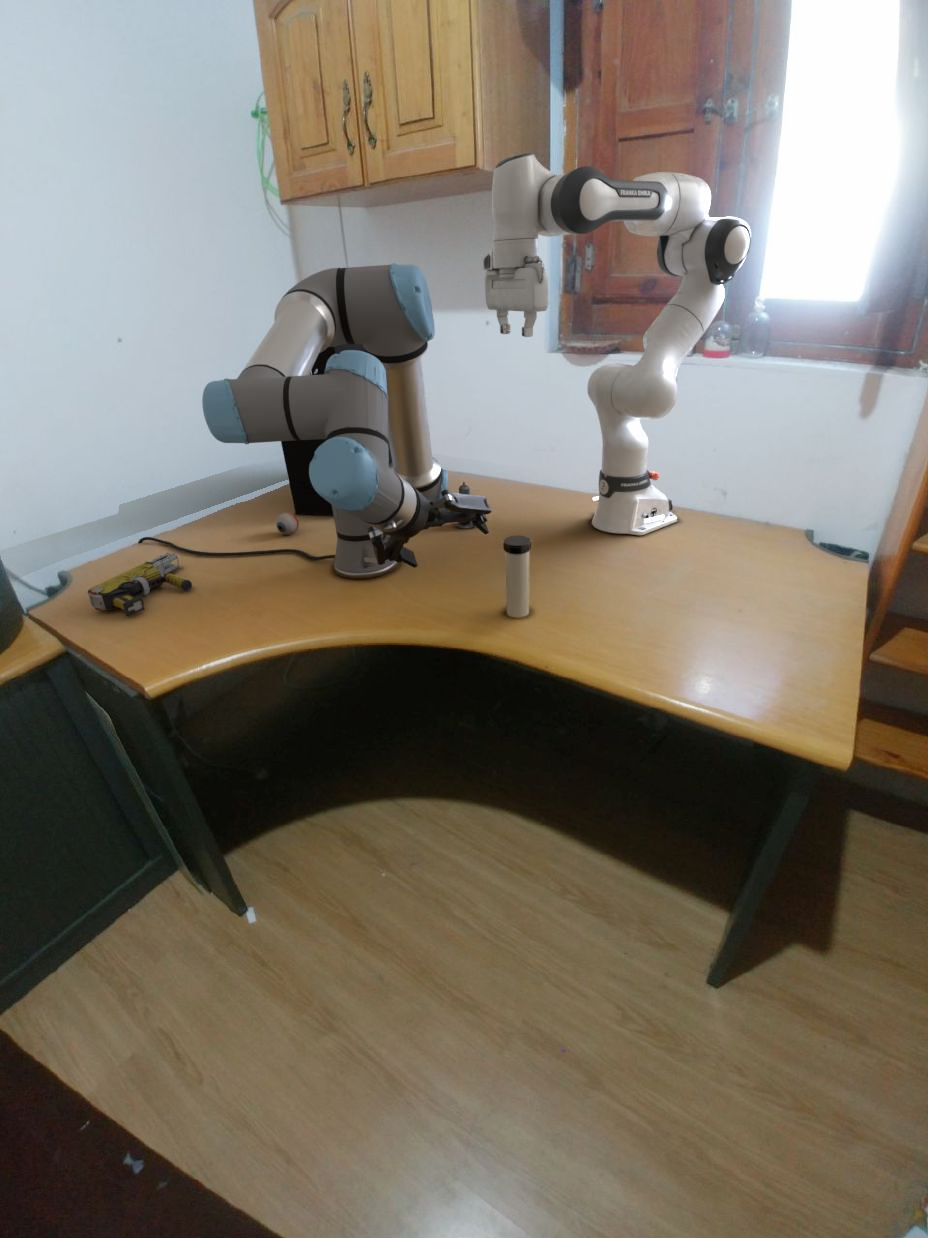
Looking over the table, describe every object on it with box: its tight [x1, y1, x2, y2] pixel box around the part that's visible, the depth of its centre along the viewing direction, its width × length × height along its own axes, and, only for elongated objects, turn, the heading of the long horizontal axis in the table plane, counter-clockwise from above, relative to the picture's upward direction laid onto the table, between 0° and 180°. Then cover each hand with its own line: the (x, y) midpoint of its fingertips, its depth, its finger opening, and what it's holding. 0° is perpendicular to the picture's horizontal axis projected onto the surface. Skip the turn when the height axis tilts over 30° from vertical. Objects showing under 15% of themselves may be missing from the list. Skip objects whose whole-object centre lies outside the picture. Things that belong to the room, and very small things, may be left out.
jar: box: [504, 551, 530, 619], centre depth 118 cm, size 5×5×15 cm
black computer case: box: [280, 344, 392, 516], centre depth 181 cm, size 38×20×45 cm, turn 167°
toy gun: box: [87, 552, 193, 618], centre depth 137 cm, size 5×24×15 cm
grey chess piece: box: [455, 481, 475, 529], centre depth 161 cm, size 6×6×12 cm
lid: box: [502, 534, 532, 554], centre depth 114 cm, size 5×5×2 cm
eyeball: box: [275, 511, 300, 536], centre depth 163 cm, size 6×6×6 cm
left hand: (448, 543), depth 102 cm, fingers open, 13 cm apart
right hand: (516, 335), depth 125 cm, fingers open, 8 cm apart
